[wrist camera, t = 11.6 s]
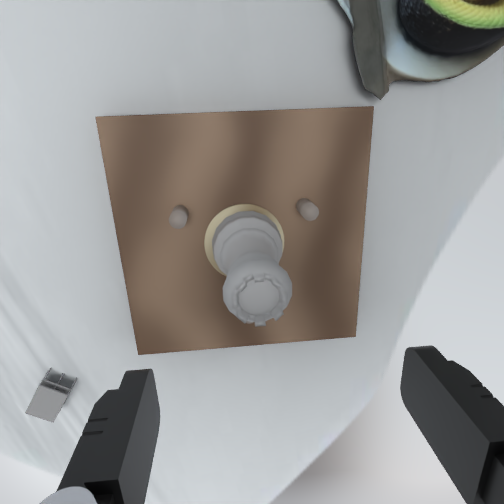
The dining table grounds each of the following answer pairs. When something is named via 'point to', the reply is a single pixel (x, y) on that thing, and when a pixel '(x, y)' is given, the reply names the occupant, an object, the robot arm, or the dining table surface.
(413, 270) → the dining table surface
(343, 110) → the pin board
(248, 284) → the rook chess piece
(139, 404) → the robot arm
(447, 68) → the salad plate
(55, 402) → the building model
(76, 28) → the dining table surface
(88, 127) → the dining table surface
